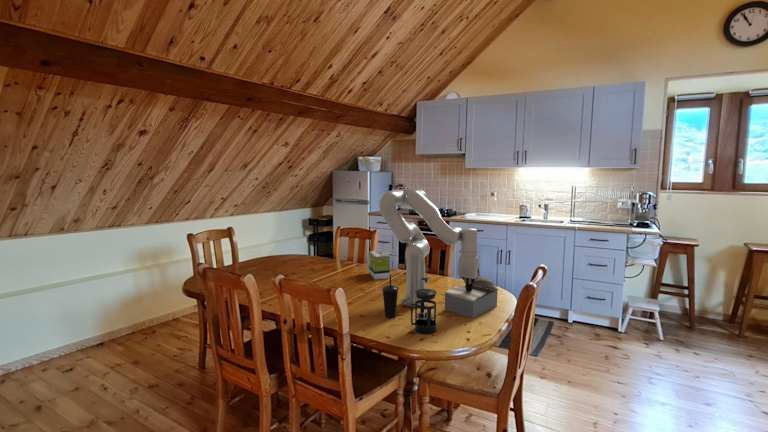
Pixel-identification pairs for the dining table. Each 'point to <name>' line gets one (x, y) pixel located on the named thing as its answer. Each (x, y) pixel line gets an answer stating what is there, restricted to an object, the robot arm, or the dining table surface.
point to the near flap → (465, 293)
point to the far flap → (485, 283)
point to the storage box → (472, 303)
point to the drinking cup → (390, 300)
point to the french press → (425, 318)
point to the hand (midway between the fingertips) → (469, 290)
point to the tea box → (379, 264)
